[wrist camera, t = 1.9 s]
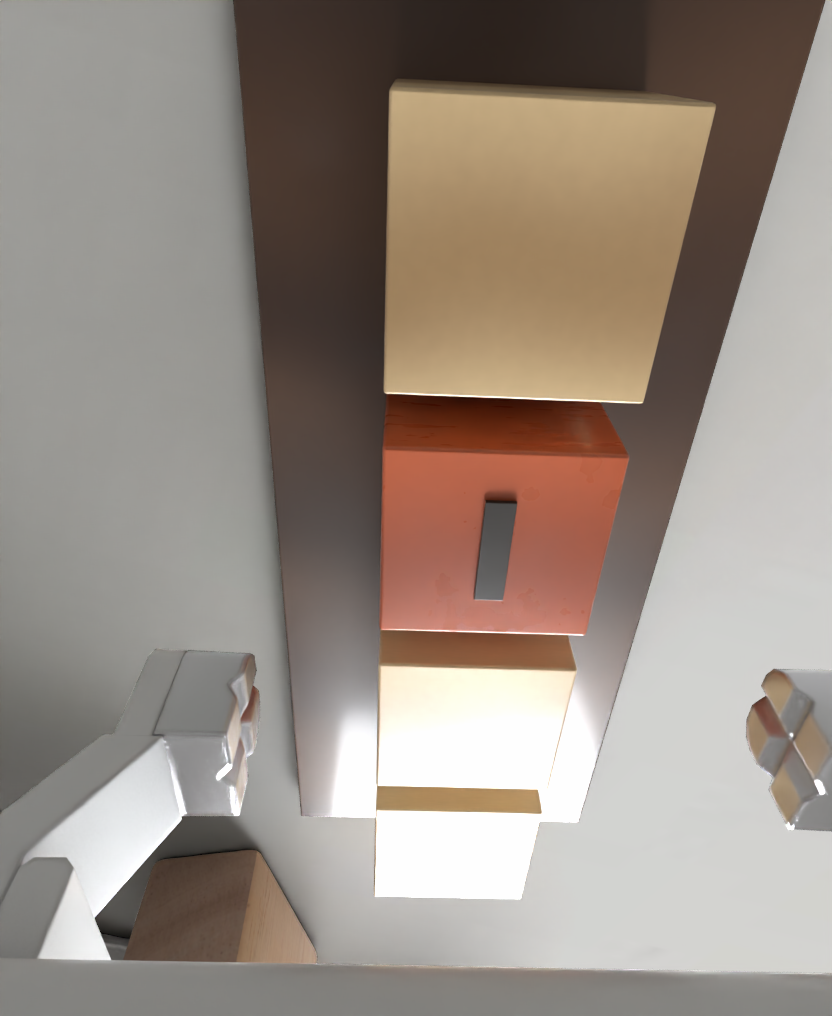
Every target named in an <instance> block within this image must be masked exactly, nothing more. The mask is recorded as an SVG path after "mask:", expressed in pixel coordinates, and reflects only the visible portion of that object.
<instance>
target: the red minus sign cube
mask: <svg viewBox="0 0 832 1016" xmlns="http://www.w3.org/2000/svg"><path fill="white" fill-rule="evenodd" d="M628 461H629V454H628V452H627V450H626V449H625V447H624V445H623V443H622V441H621V439H620V437H619V436H618V434H617V432H616V430H615V428H614V426H613V425H612V423H611V421H610V419H609V417H608V415H607V413H606V412H605V410H604V408H603V406H602V404H601V402H589V401H563V400H537V399H511V398H485V397H458V396H432V395H406V394H386V407H385V420H384V434H383V447H382V496H381V550H380V603H379V627H380V629H382V630H406V631H441V632H476V633H511V634H545V635H580V636H583V635H585V634H586V631H587V627H588V623H589V619H590V615H591V611H592V607H593V603H594V599H595V595H596V591H597V587H598V583H599V579H600V575H601V571H602V566H603V562H604V558H605V554H606V550H607V546H608V542H609V538H610V534H611V530H612V526H613V522H614V518H615V514H616V510H617V506H618V501H619V497H620V493H621V489H622V485H623V481H624V477H625V473H626V469H627V465H628Z"/></svg>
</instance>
